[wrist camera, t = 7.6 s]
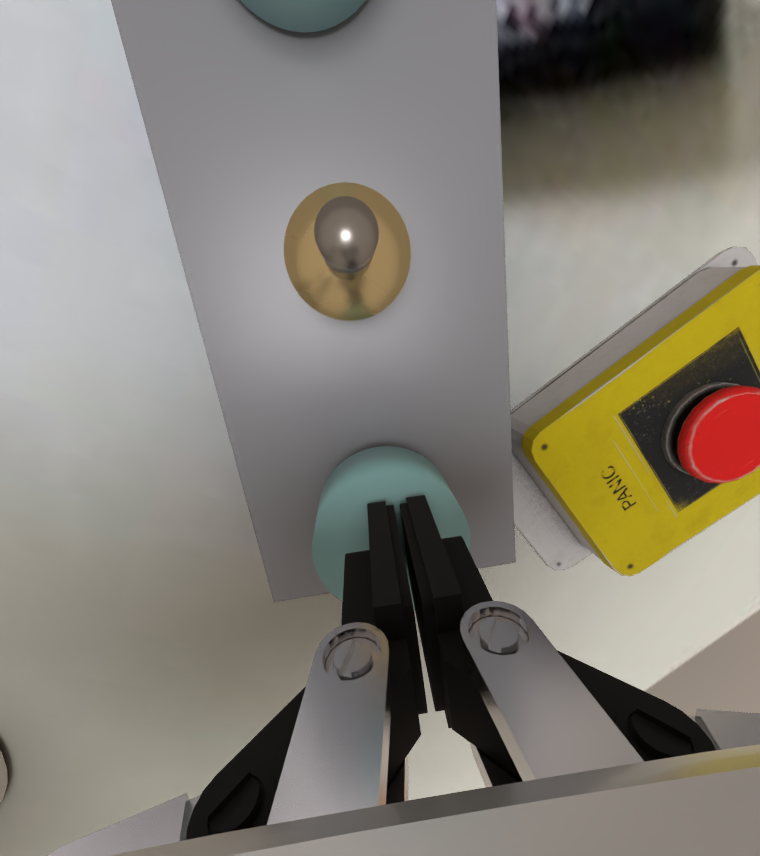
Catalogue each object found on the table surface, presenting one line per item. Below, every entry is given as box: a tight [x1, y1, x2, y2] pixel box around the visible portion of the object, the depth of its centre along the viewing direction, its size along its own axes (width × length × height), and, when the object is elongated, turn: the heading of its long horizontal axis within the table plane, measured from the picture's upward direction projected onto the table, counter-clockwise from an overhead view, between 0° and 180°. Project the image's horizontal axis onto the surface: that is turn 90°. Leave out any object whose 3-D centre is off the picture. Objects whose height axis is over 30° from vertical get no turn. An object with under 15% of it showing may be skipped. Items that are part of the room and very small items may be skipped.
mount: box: [111, 0, 516, 602], centre depth 13 cm, size 24×10×4 cm, turn 8°
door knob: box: [284, 182, 411, 321], centre depth 9 cm, size 3×3×5 cm
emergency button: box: [510, 247, 760, 576], centre depth 16 cm, size 9×4×15 cm
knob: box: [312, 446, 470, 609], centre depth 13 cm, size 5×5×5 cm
